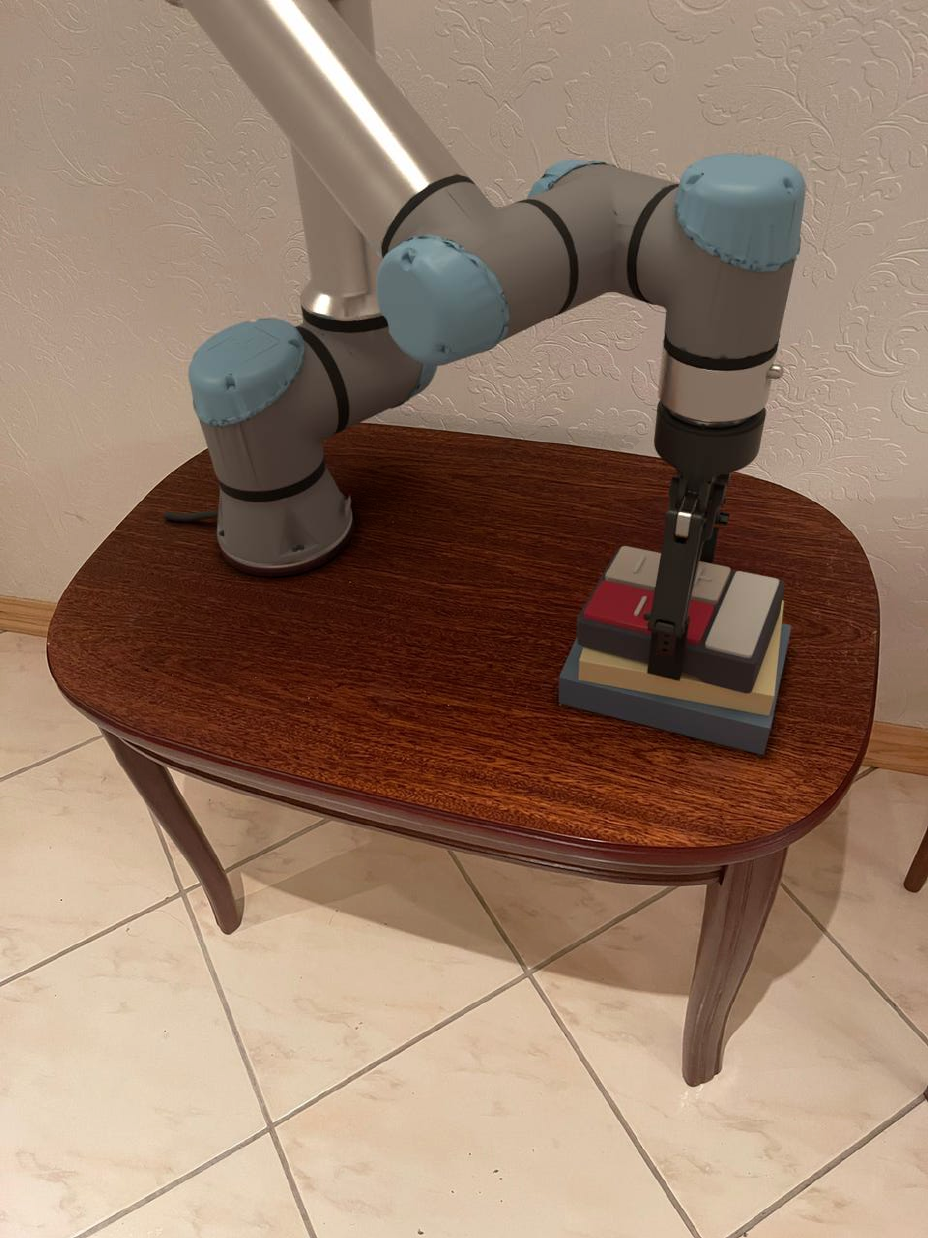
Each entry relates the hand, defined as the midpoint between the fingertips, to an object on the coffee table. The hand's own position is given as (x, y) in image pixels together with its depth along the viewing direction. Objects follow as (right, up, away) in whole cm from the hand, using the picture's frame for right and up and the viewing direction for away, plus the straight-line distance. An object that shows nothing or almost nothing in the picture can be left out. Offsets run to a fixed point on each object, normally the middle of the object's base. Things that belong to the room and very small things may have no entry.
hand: (679, 627), depth 77 cm
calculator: (0, 0, 0) cm, 0 cm away
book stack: (0, -5, +4) cm, 6 cm away
